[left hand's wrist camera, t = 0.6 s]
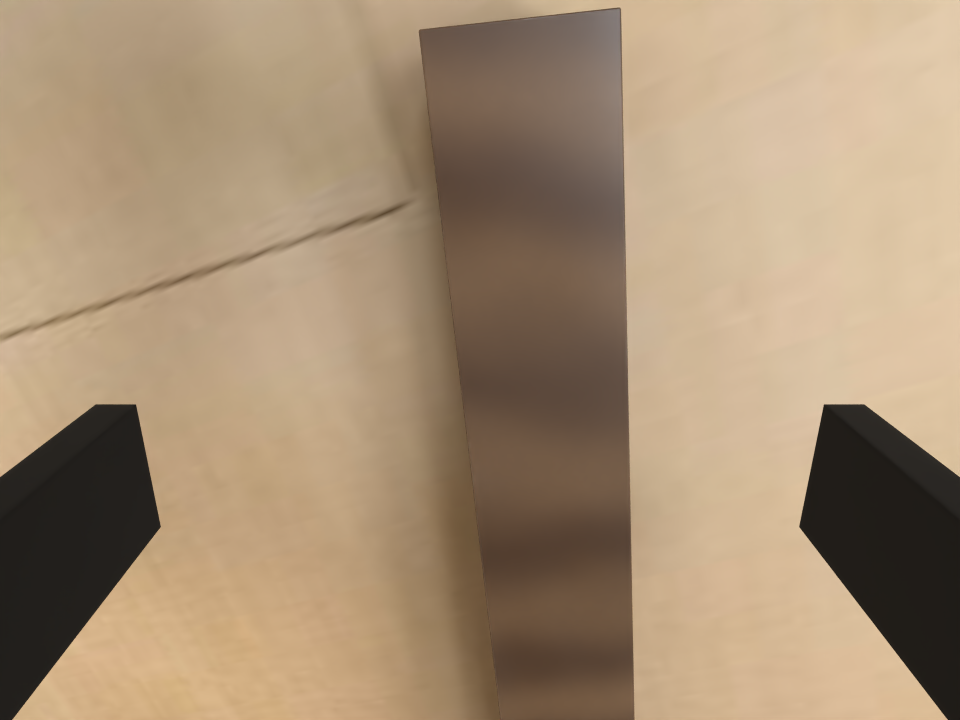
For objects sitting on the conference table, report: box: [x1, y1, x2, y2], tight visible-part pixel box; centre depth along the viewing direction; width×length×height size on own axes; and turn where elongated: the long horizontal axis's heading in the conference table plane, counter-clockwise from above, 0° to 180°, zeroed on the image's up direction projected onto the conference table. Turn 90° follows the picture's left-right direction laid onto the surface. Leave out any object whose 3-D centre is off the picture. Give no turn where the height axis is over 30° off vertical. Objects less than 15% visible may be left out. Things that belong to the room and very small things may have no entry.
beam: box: [419, 8, 634, 720], centre depth 32 cm, size 47×6×8 cm, turn 6°
